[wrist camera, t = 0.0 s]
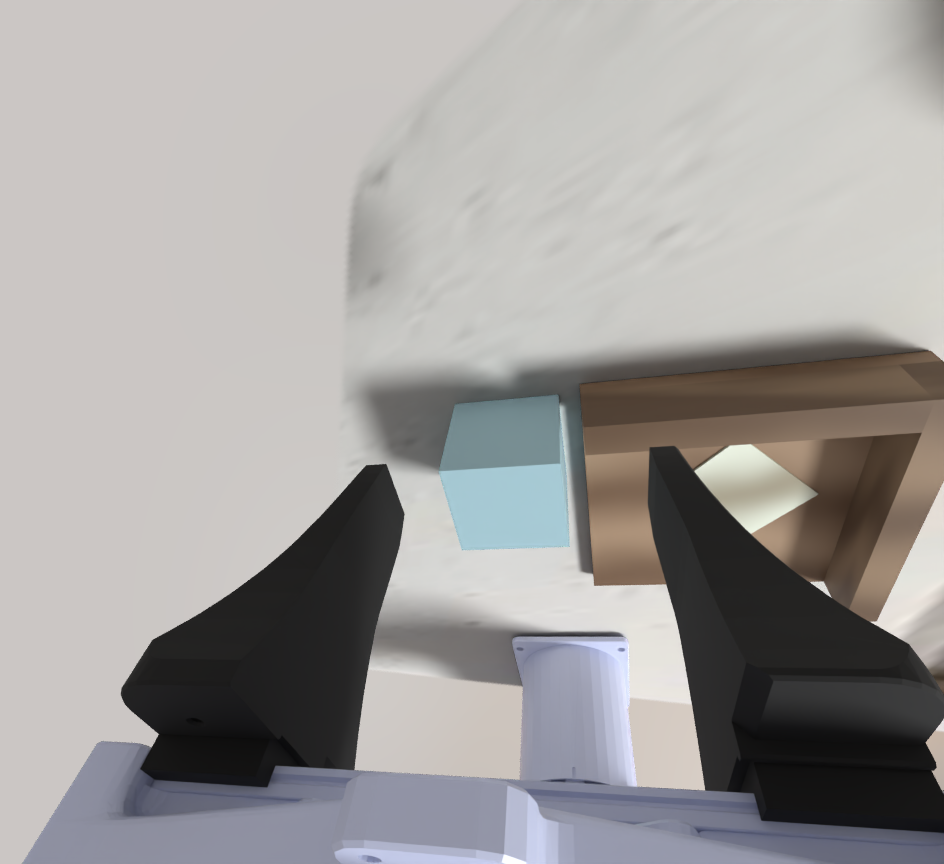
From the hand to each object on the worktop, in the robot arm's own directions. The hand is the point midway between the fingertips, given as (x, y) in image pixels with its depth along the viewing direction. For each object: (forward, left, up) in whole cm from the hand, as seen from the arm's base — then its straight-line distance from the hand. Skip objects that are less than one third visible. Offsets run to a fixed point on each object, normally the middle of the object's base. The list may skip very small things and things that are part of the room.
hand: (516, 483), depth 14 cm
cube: (-6, +1, -10) cm, 12 cm away
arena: (-10, -9, -10) cm, 17 cm away
